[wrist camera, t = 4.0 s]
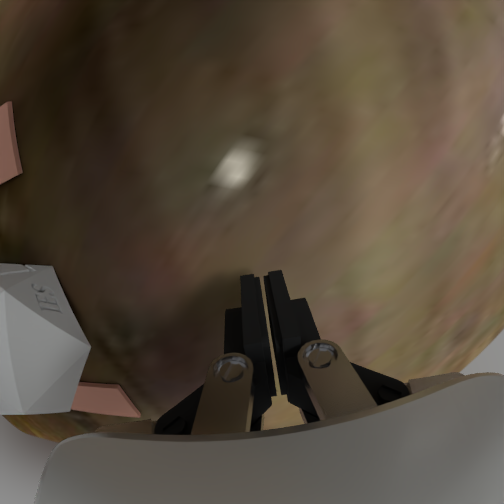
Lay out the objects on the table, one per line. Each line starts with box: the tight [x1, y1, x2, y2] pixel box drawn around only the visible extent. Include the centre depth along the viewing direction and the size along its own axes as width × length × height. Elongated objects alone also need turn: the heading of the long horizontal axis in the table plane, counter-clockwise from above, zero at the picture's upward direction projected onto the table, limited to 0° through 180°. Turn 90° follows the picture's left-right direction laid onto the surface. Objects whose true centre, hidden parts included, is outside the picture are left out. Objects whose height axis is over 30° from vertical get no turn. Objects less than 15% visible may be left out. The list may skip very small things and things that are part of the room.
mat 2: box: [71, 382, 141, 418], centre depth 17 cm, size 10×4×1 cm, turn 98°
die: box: [0, 263, 91, 415], centre depth 10 cm, size 8×9×10 cm
